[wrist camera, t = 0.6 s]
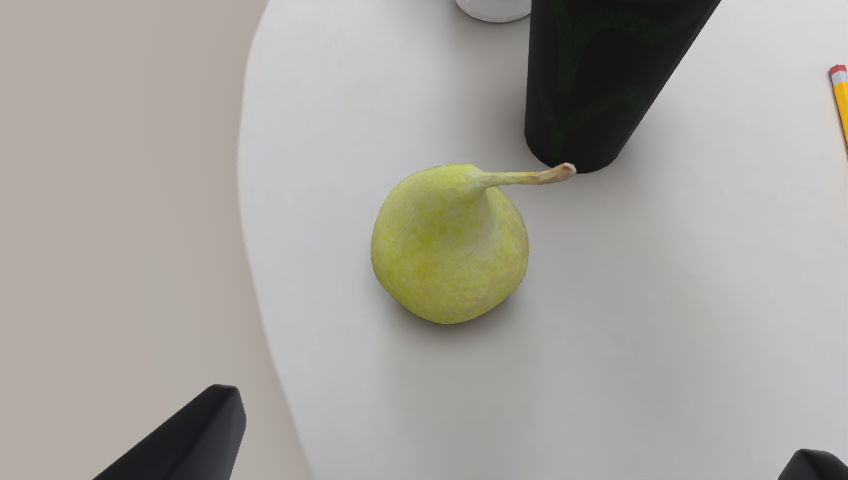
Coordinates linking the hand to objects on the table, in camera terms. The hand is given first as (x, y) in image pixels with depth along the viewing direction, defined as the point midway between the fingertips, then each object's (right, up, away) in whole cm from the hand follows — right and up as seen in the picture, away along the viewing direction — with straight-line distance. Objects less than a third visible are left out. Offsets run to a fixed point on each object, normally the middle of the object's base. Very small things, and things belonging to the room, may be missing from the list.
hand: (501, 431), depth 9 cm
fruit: (0, +1, +18) cm, 18 cm away
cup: (+7, +9, +22) cm, 24 cm away
